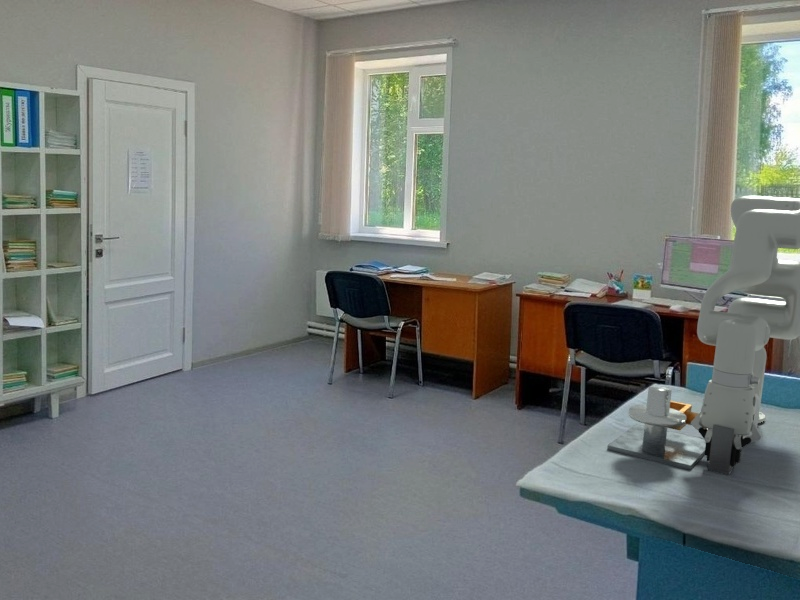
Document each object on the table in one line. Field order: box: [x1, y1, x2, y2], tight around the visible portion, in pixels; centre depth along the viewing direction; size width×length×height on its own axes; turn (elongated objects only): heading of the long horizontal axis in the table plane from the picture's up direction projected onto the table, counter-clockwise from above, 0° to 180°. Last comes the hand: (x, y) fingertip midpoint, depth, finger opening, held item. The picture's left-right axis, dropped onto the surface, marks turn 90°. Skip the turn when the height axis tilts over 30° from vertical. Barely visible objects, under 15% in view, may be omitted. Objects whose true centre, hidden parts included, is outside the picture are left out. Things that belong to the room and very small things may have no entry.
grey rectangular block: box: [707, 425, 735, 476], centre depth 159 cm, size 5×4×10 cm
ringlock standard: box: [606, 385, 708, 471], centre depth 169 cm, size 22×23×15 cm
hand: (721, 461), depth 160 cm, fingers closed on grey rectangular block, 4 cm apart
